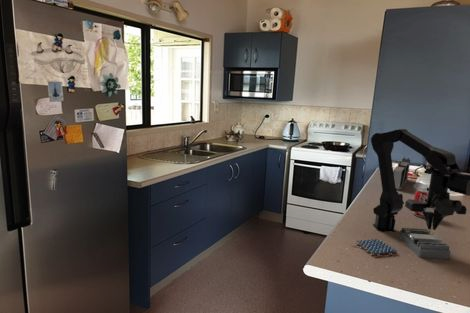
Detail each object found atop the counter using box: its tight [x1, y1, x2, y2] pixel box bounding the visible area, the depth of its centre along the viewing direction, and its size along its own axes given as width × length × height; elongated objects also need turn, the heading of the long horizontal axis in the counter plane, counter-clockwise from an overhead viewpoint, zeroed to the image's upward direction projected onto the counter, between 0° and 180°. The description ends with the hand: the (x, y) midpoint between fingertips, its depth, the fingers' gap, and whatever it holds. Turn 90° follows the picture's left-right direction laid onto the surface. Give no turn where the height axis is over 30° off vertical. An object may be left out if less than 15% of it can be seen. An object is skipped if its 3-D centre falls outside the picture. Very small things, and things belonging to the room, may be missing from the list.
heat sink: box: [398, 227, 451, 260], centre depth 126 cm, size 10×16×5 cm, turn 178°
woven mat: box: [355, 238, 399, 258], centre depth 123 cm, size 10×11×2 cm
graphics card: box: [393, 157, 411, 191], centre depth 214 cm, size 33×5×14 cm, turn 147°
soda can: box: [412, 188, 428, 218], centre depth 159 cm, size 7×7×12 cm
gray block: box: [407, 233, 443, 243], centre depth 126 cm, size 10×4×1 cm, turn 88°
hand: (431, 229), depth 125 cm, fingers closed
